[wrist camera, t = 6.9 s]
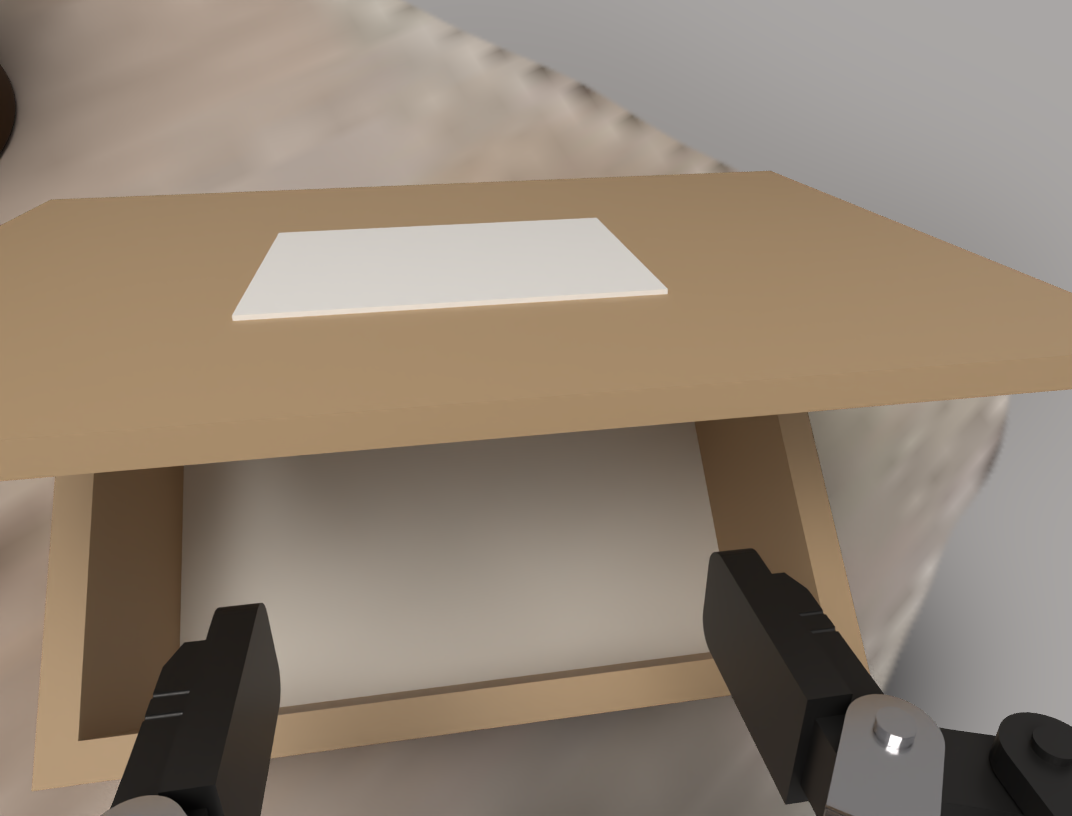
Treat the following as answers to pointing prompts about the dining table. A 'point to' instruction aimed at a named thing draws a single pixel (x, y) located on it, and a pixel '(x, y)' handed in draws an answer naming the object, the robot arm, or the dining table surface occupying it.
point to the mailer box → (425, 580)
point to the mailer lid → (483, 317)
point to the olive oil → (6, 108)
